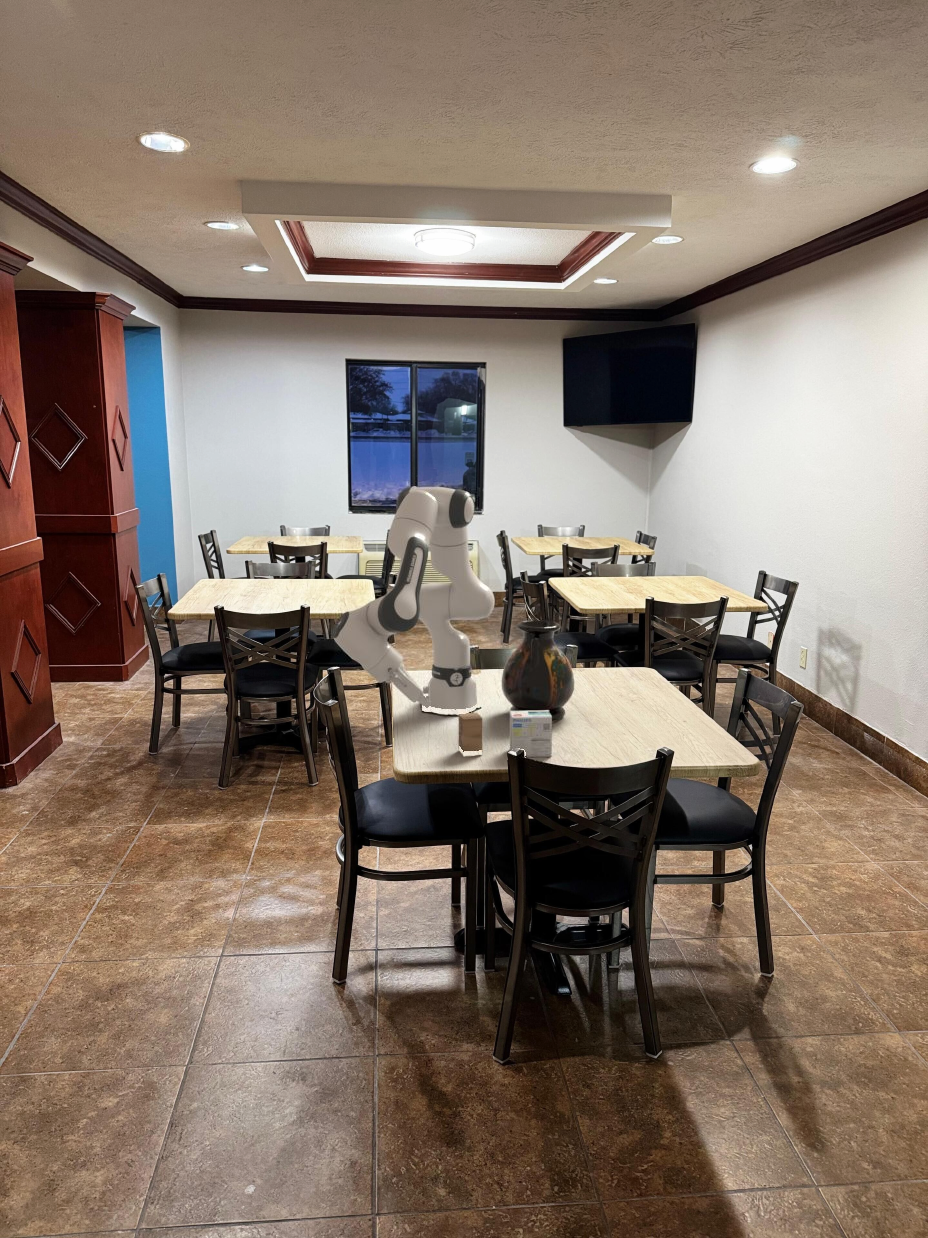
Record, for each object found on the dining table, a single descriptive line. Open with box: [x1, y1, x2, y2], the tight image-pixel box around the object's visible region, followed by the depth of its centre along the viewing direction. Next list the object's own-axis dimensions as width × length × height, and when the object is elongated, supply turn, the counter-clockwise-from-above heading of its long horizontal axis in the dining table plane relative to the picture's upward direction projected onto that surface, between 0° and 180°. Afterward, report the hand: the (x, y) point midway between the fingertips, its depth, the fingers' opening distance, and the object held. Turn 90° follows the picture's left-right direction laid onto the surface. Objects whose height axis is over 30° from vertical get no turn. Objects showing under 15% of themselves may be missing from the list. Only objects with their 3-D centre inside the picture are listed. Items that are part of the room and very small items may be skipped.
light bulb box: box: [509, 710, 553, 758], centre depth 218 cm, size 11×7×11 cm, turn 92°
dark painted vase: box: [501, 619, 575, 722], centre depth 249 cm, size 22×22×28 cm
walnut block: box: [458, 712, 483, 752], centre depth 218 cm, size 5×5×10 cm
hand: (424, 700), depth 213 cm, fingers open, 8 cm apart
